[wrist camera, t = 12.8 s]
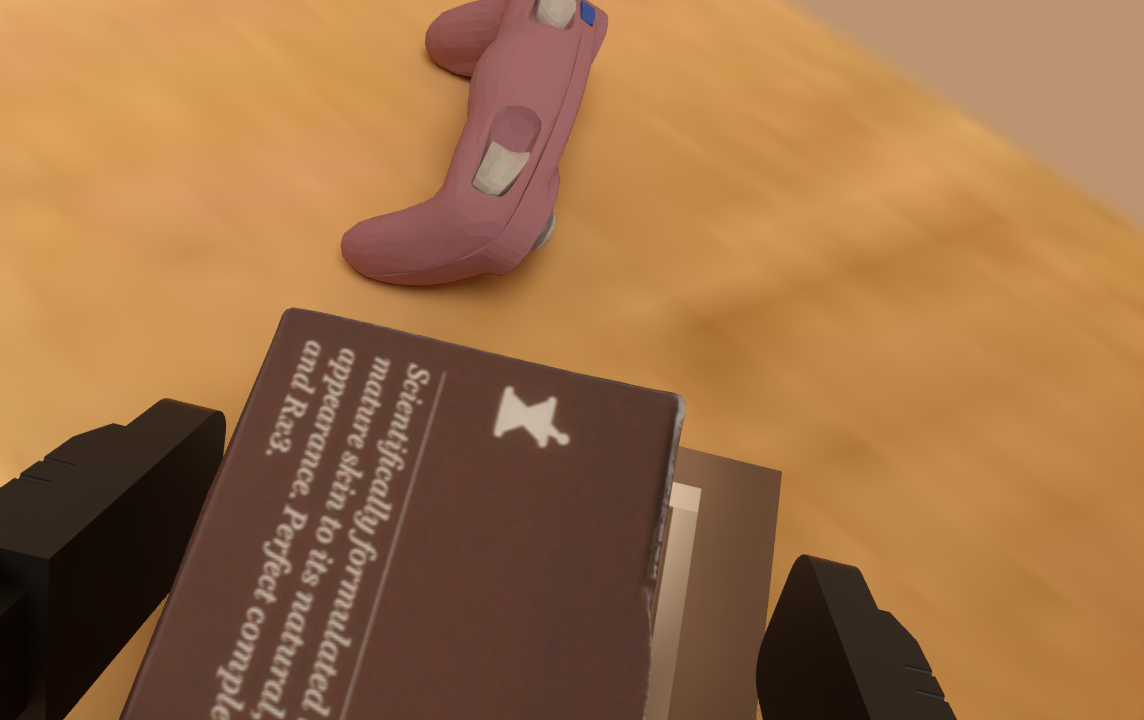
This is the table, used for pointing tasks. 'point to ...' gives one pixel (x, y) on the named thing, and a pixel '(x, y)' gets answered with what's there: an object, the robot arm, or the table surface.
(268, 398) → the box
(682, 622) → the base board
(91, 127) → the table surface
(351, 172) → the table surface
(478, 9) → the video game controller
